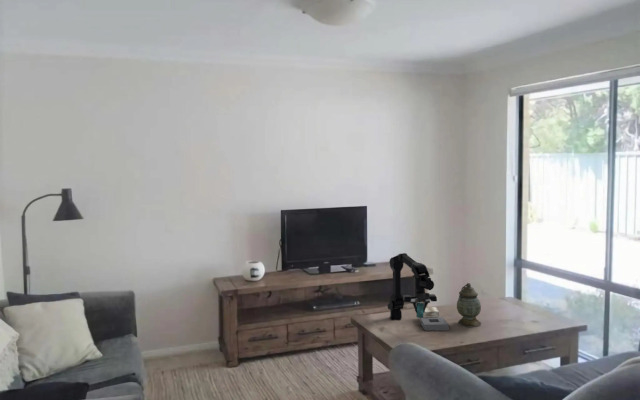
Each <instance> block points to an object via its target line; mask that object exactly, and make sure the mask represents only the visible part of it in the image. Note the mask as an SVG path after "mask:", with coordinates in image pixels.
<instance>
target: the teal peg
mask: <svg viewBox="0 0 640 400" xmlns="http://www.w3.org/2000/svg"><path fill="white" fill-rule="evenodd" d="M416 309H417V313H416V312H415V314H416V318H417V319H418V318H419V319H420V318H423V317H424V315H423V302H418V301H417V302H416Z"/></svg>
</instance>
